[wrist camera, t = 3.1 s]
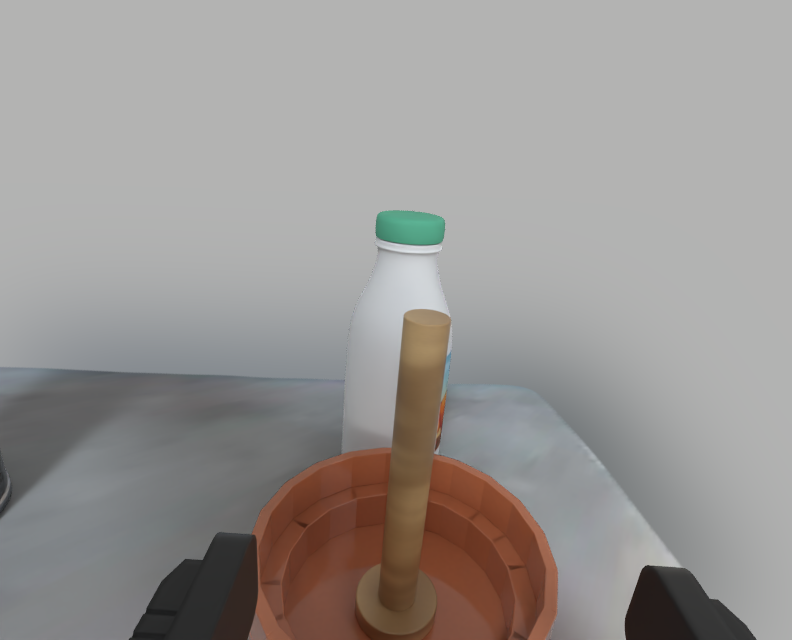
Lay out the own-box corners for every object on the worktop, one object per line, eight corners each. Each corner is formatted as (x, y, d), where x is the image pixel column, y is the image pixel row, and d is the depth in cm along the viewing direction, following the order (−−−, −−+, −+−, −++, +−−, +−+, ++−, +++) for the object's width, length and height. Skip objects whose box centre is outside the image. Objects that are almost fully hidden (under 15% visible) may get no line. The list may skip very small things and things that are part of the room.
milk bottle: (421, 509, 33) (456, 229, 26) (324, 479, 36) (333, 213, 29) (445, 449, 40) (478, 215, 33) (363, 427, 42) (377, 202, 35)
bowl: (199, 782, 19) (188, 691, 17) (288, 505, 33) (288, 439, 31) (579, 808, 19) (613, 722, 17) (504, 522, 33) (517, 457, 31)
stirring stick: (350, 645, 23) (371, 331, 17) (358, 570, 28) (378, 296, 22) (438, 651, 23) (488, 341, 18) (433, 576, 28) (472, 304, 22)
